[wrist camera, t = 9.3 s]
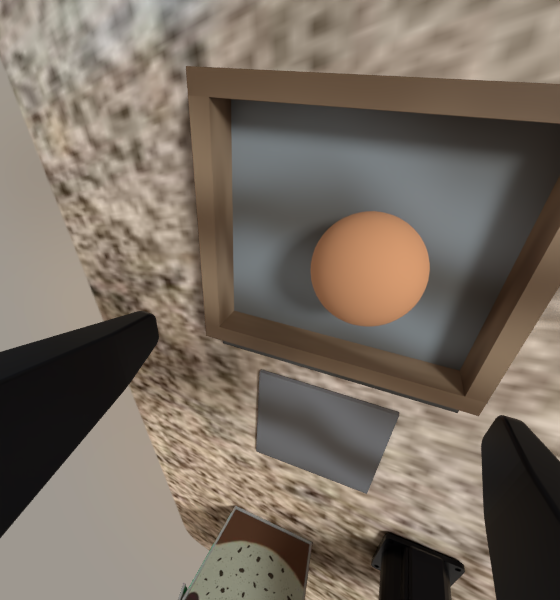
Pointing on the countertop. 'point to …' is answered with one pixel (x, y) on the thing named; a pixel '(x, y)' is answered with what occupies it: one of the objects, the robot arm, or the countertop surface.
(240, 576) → the food container
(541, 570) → the robot arm
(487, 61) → the countertop surface
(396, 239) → the ball
